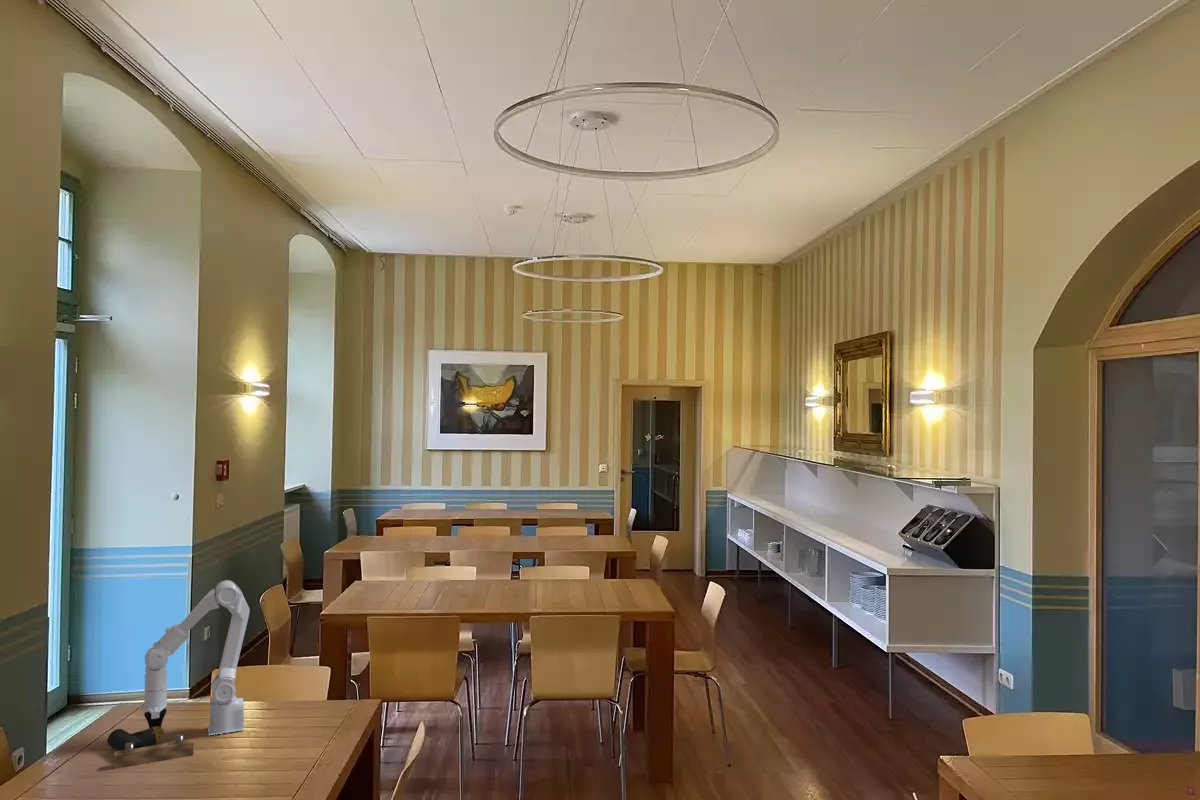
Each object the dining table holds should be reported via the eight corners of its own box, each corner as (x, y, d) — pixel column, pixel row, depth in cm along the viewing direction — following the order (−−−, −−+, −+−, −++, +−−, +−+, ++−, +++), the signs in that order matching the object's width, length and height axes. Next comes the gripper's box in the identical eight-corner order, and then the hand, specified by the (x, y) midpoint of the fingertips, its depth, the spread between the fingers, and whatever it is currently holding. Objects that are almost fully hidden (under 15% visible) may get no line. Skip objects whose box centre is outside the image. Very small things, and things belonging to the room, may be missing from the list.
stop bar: (193, 751, 229) (193, 731, 230) (193, 755, 227) (193, 735, 227) (114, 765, 220) (114, 744, 220) (114, 769, 218) (114, 748, 218)
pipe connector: (150, 719, 240) (171, 731, 231) (150, 737, 240) (171, 750, 230) (107, 731, 232) (127, 744, 222) (107, 750, 231) (127, 763, 222)
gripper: (140, 684, 242) (139, 730, 242) (139, 698, 230) (138, 747, 229) (167, 680, 246) (166, 726, 245) (167, 694, 233) (167, 742, 232)
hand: (155, 736), depth 237 cm, fingers closed, pressing on pipe connector
